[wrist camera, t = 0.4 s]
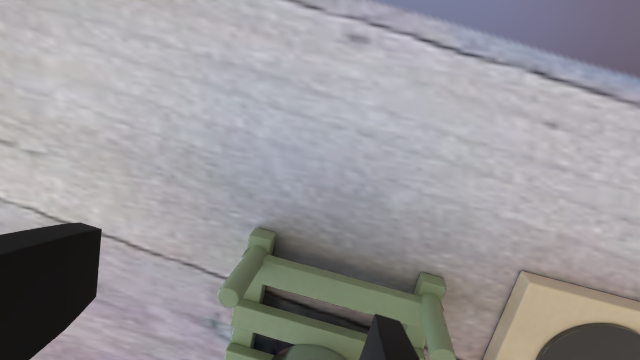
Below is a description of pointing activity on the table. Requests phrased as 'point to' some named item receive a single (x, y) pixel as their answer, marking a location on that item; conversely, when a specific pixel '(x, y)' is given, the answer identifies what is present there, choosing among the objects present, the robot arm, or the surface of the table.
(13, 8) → the table surface
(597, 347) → the hob
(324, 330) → the rack
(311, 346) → the pot
